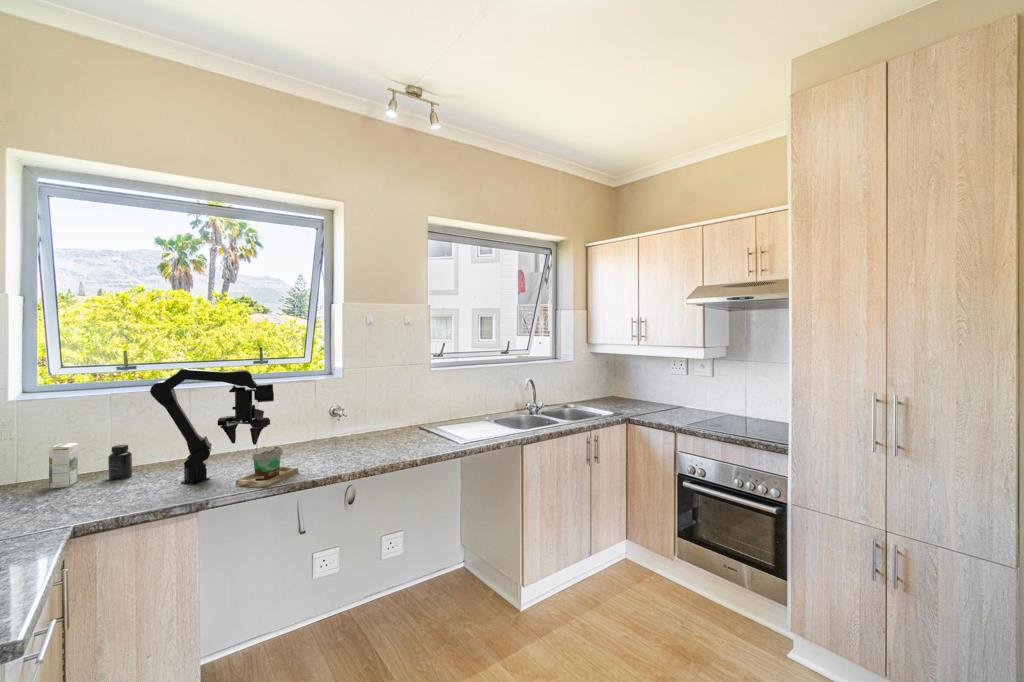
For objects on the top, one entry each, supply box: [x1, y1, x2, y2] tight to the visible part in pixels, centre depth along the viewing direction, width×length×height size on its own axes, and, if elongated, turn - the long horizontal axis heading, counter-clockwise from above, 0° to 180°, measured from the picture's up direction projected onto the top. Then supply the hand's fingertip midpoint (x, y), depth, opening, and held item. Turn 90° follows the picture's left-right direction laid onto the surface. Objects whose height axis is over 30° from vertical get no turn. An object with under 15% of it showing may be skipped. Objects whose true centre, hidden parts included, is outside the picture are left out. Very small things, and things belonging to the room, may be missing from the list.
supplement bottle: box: [107, 444, 133, 481], centre depth 175 cm, size 7×7×12 cm
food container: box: [252, 445, 283, 481], centre depth 174 cm, size 12×6×10 cm, turn 169°
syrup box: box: [48, 442, 79, 489], centre depth 166 cm, size 6×6×14 cm
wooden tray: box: [235, 465, 299, 489], centre depth 174 cm, size 12×18×2 cm, turn 169°
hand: (244, 444), depth 178 cm, fingers open, 9 cm apart
